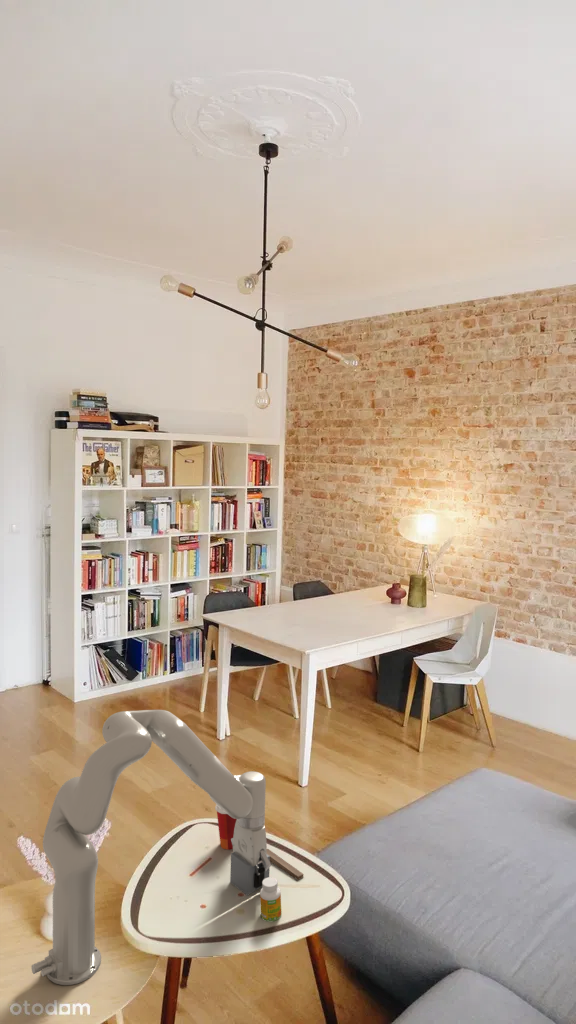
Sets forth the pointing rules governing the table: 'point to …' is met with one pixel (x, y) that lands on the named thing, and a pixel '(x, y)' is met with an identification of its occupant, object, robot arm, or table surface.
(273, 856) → the long brown rectangular bar
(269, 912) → the supplement bottle
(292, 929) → the table surface
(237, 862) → the grey matte cube
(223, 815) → the paper cup
